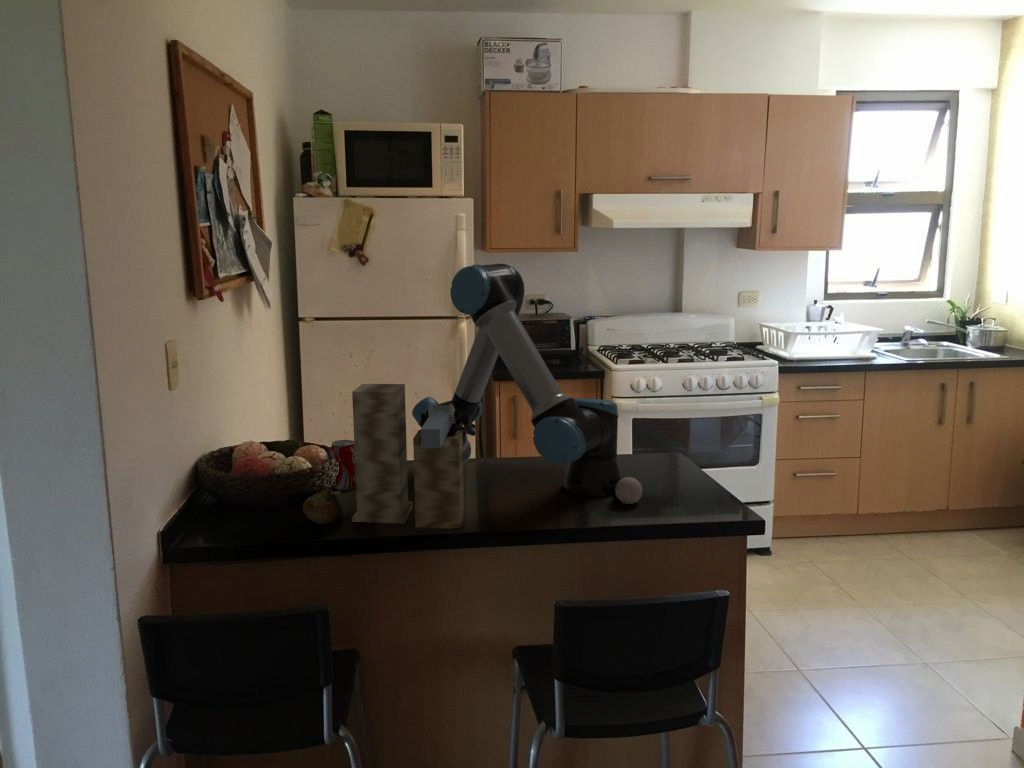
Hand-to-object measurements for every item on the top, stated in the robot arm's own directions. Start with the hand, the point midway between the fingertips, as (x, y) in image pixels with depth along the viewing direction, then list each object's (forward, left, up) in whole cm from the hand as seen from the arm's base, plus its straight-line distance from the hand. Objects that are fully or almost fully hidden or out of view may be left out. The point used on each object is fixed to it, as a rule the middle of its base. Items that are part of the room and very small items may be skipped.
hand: (440, 409), depth 189 cm
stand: (+14, -1, -25) cm, 29 cm away
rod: (0, +4, -5) cm, 6 cm away
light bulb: (-43, -13, -25) cm, 52 cm away
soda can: (+28, -21, -25) cm, 43 cm away
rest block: (0, +4, -25) cm, 26 cm away
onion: (+27, +5, -25) cm, 37 cm away
